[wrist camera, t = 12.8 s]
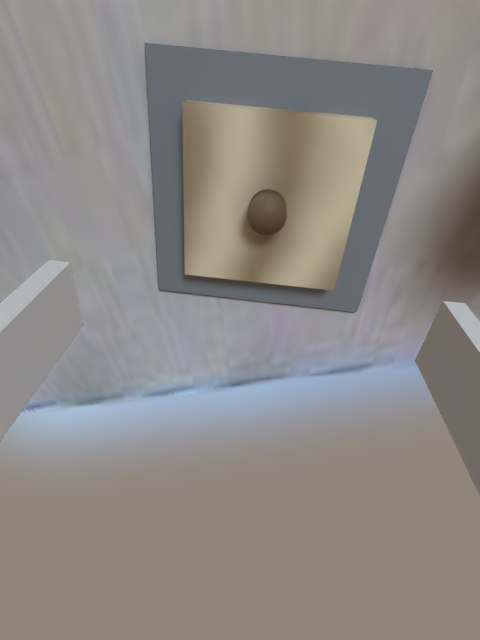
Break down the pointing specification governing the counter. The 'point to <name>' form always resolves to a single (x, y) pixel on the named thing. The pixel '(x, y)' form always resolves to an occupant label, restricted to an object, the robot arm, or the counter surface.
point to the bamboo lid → (270, 191)
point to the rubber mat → (291, 94)
